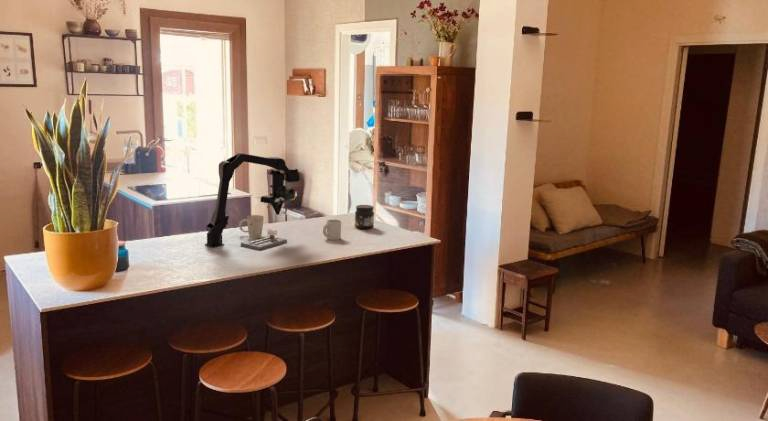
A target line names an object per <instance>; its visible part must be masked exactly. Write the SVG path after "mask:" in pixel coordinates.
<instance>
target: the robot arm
mask: <svg viewBox="0 0 768 421" xmlns="http://www.w3.org/2000/svg"><path fill="white" fill-rule="evenodd" d="M244 162H245V163H248V164H249V163H250V164H255V165H261V166H266V167H270V168H271V169H270V170H269V171H268V172H267V174H268V175H270V176H272V177H271V184H270V185H269V187H270V188H271V193H270V194H269V195H262V196H261V197H260V203H264V204H270V205H271V206H272V209H273V210H274V213H275V215H278V216H279V215H280V214H281V213H280V212H281V210H282V207H283V206H284V204H285V203H286V202H288V201H290V200H293V199H295V196H296V190H295V189H294V188H290V189H287V185H285V183H287V184H288V183H289V184H291V183H299V182H300V180H301V179H300V178H301V177H300V173H299V169H298V168H291V169H290V168H288V166H287V165H286V164H287V163H286V160H285V159H284V158H280V157H278V156H269V157H268V156H265V157H264V156H259V155H254V154H249V153H244V152H240V151H239V152H238V153H236V154H235V155H232V156H231V157H229V158H227V159H226V160H222V161H221V162H219V164H218V176H219V184H218V189H217V195H216V196H217V197H216V203H215V204H216V205H215V209H214V211H213V213H212V214H211V218H210V222H208V224H207V225H206V226H205V229H206V232H207V233H206V243H205V244H204V246H207V247H210V248H217V247H222V246H224V245H225V243H223V231H224V229H226V227H227V226H228V225H229V223H228V222H229V217H230V216H229V215H228V214H226V207H227V202H228V195H229V187H230V182H231V180H232V179H233V176H234V173H235V170H236V169H238V168H239V167H240V166H241V165H242V164H243V163H244ZM274 169H275V170H274ZM281 171H282V172H281Z"/></svg>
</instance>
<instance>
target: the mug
mask: <svg viewBox="0 0 768 421" xmlns="http://www.w3.org/2000/svg"><path fill="white" fill-rule="evenodd" d="M264 217H265V216H264V215H261V214H260V215H259V214H251V215H247V216H246V218H244V219H241V220H240V221H239V223H238V228H239V230H240V231H241V232H243V233H248V236H249V238H254V239H257V238H260V237H262V236H263V234H262V233H263V227H264V226H263V225H264V221H265V220H264ZM243 223H247V230H244V229H243V227H242V224H243Z"/></svg>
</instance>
